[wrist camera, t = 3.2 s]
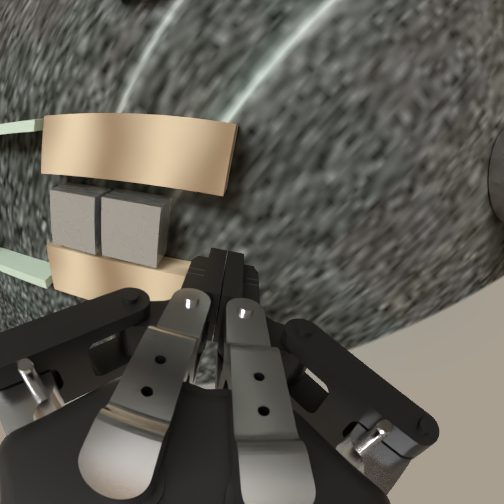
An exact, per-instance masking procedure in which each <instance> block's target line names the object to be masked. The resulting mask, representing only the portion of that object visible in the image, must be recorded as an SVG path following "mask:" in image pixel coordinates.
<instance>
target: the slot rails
mask: <svg viewBox="0 0 504 504" xmlns="http://www.w3.org/2000/svg"><path fill="white" fill-rule="evenodd" d="M238 126H239V125H238V124H232V123H226V122H219V121H212V120H204V119H196V118H187V117H177V116H165V115H151V114H129V113H84V114H63V115H50V116H44V125H43V138H42V163H41V173H44V174H57V175H69V176H80V177H90V178H99V179H108V180H117V181H125V182H133V183H141V184H148V185H155V186H162V187H169V188H176V189H182V190H189V191H195V192H201V193H207V194H213V195H219V196H223V195H224V193H225V191H226V189H227V184H228V179H229V173H230V167H231V162H232V157H233V151H234V146H235V141H236V136H237V131H238ZM47 251H48V257H49V263H50V269H51V274H52V279H53V284H54V289H56V290H59V291H62V292H65V293H68V294H71V295H75V296H78V297H81V298H84V299H88V300H91V299H94V298H97V297H99V296H102V295H105V294H108V293H111V292H113V291H116V290H119V289H122V288H127V287H133V288H138V289H141V290H143V291H145V292H146V293H147V294H148V295H149V297H150V301H165V300H169V299H171V297H172V295H173V294H174V293H175V292H176V291H178V290H180V289H181V287H182V284H183V282H184V279H185V276H186V274H187V271H188V269H189V266H190V264H191V261H186V260H180V259H175V258H170V257H165V256H164V257H163V258H162V260H161V261H160V263H159V265H158V266H157V268H154V267H149V266H145V265H141V264H137V263H132V262H128V261H124V260H120V259H116V258H112V257H108V256H104V255H102V249H101V250H100V251H99V252H98V253H97V254H96V255H94V254H90V253H86V252H83V251H79V250H76V249H72V248H68V247H65V246H61V245H58V244H54V243H53V241H52V242H50V243H49V244H48V245H47Z"/></svg>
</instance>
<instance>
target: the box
mask: <svg viewBox="0 0 504 504" xmlns="http://www.w3.org/2000/svg"><path fill="white" fill-rule="evenodd" d="M43 125H44V119H35V120H26V121H18V122H11V123H4V124H0V135H1V134H10V133H21V132H34V131H40V130H43ZM0 271H2V272H4V273H7V274H9V275H12V276H14V277H17V278H19V279H22V280H24V281H27V282H30V283H32V284H35V285H38V286H40V287H43V288H46V289H47V288H48V287H49V286H50V285H51V284H52V283H53V279H52V274H51V269H50V263H49V262H46V261H42V260H39V259H36V258H33V257H29V256H26V255H23V254H20V253H17V252H14V251H11V250H7V249H4V248H2V247H0Z"/></svg>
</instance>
